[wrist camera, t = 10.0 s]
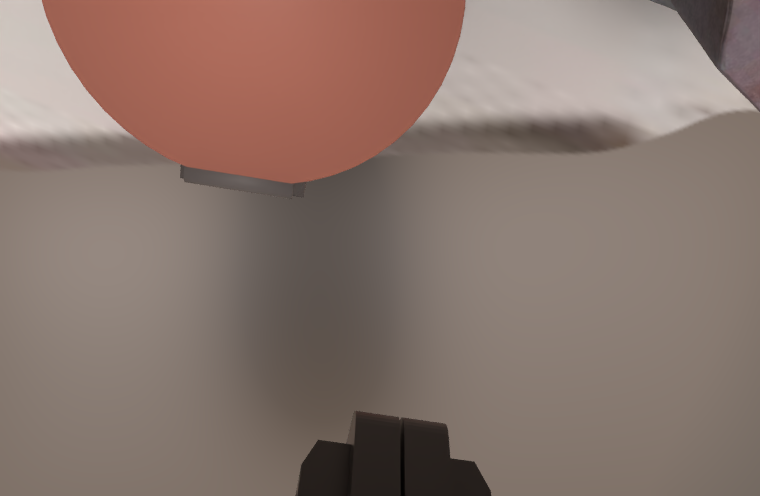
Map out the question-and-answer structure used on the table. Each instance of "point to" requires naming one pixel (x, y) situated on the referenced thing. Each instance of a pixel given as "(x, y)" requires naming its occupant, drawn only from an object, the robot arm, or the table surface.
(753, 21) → the moka pot
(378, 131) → the lid
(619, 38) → the table surface
